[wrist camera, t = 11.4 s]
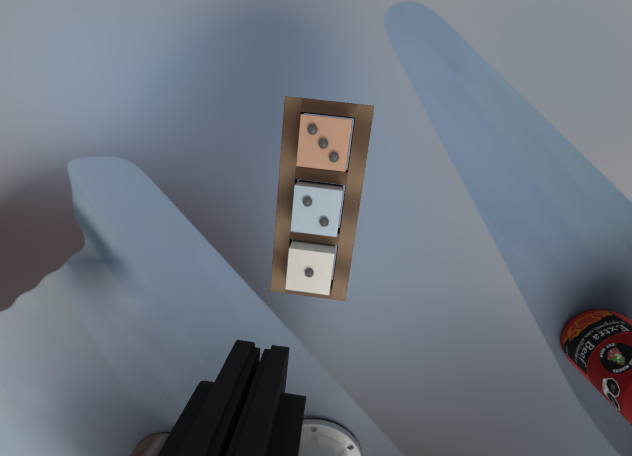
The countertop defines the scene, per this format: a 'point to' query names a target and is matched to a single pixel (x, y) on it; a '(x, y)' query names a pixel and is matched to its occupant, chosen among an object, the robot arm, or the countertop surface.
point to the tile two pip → (316, 208)
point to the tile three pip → (323, 142)
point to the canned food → (603, 354)
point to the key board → (292, 173)
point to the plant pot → (150, 445)
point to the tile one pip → (310, 267)
